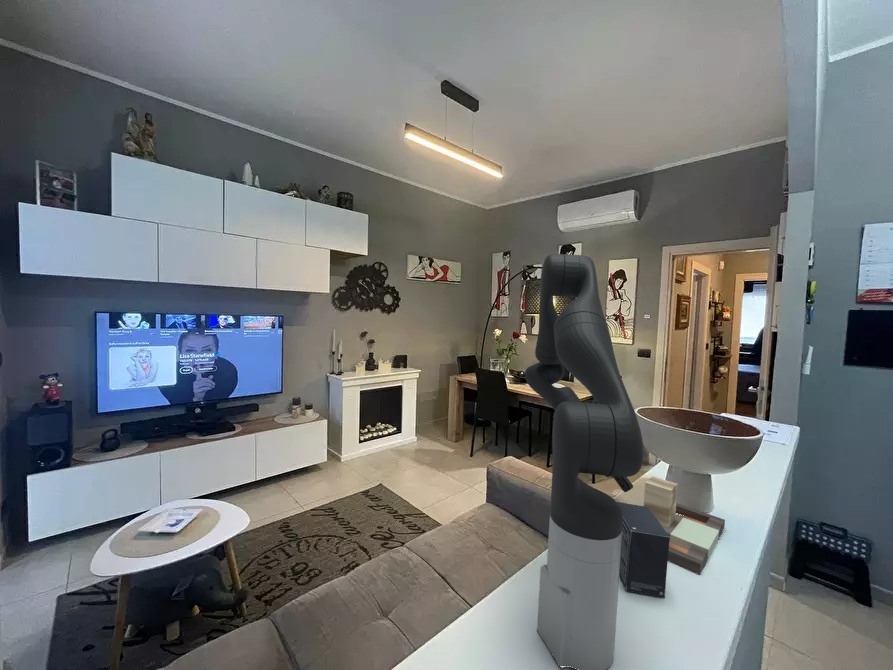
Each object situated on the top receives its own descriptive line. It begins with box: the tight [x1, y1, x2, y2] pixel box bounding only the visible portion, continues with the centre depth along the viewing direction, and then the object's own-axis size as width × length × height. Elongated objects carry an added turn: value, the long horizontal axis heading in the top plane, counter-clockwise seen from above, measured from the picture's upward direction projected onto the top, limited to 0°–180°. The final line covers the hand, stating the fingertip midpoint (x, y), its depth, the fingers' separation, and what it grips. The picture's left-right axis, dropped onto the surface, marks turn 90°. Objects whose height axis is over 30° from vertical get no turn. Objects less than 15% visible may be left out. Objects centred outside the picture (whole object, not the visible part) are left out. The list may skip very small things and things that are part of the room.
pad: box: [670, 518, 720, 559], centre depth 76 cm, size 10×6×2 cm, turn 134°
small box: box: [616, 501, 670, 599], centre depth 65 cm, size 11×6×10 cm, turn 168°
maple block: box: [643, 476, 679, 528], centre depth 81 cm, size 5×5×8 cm
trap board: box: [662, 502, 726, 576], centre depth 79 cm, size 23×13×2 cm, turn 134°
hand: (629, 489), depth 85 cm, fingers closed
